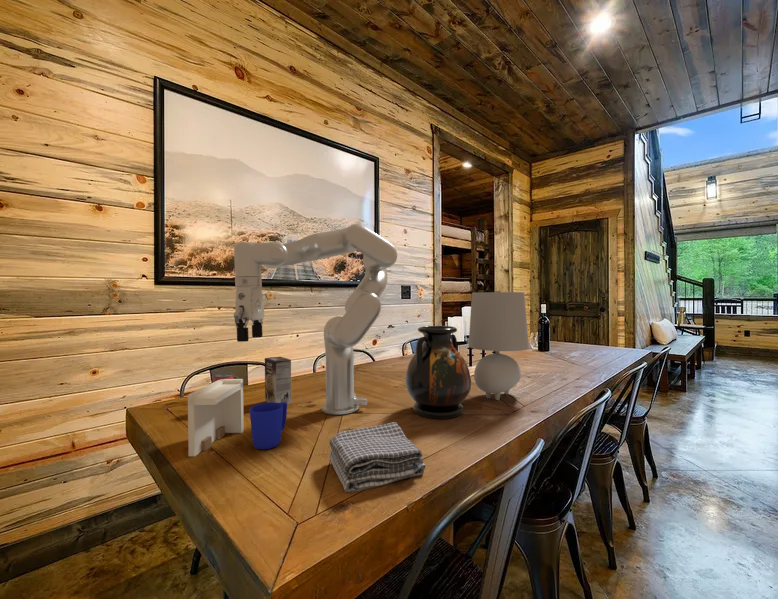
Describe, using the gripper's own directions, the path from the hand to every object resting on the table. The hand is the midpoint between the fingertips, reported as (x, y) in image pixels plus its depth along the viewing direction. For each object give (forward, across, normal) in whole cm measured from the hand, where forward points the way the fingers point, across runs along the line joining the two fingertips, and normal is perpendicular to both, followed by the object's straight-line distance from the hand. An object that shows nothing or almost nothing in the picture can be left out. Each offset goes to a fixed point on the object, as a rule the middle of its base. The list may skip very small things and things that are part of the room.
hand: (250, 339), depth 107 cm
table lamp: (+28, +29, -82) cm, 91 cm away
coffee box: (+26, +20, 0) cm, 33 cm away
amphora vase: (+27, +12, -58) cm, 65 cm away
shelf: (+25, -15, +3) cm, 30 cm away
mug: (+26, -14, -12) cm, 32 cm away
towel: (+27, -28, -40) cm, 56 cm away
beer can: (+26, +12, +16) cm, 32 cm away
